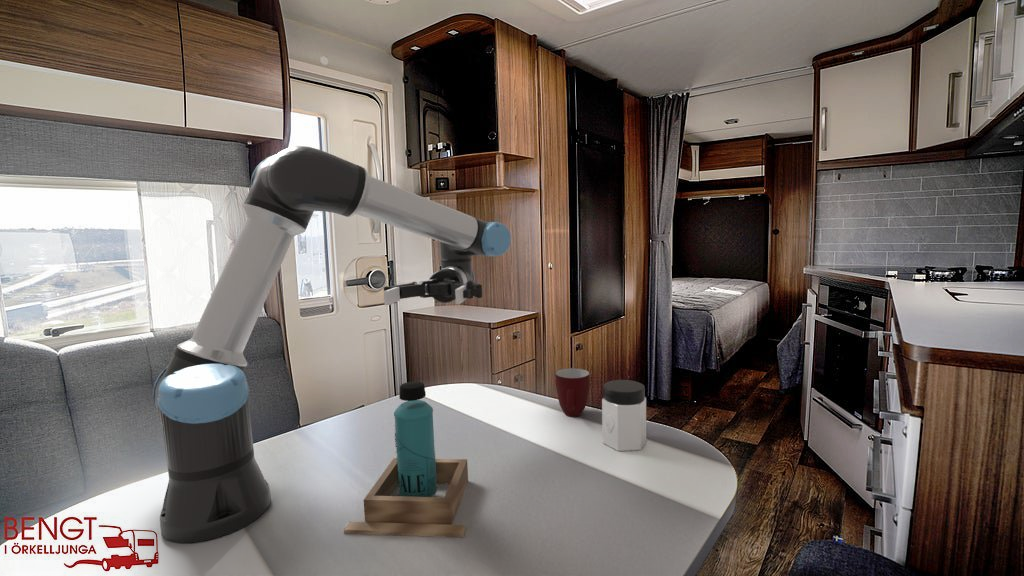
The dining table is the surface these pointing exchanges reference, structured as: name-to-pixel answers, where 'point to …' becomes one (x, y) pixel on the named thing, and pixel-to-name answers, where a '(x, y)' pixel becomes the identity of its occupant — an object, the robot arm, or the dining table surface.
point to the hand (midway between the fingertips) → (421, 297)
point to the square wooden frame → (414, 505)
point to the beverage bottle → (415, 443)
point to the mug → (572, 390)
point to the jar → (624, 415)
